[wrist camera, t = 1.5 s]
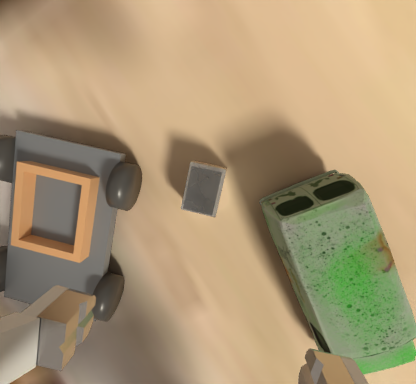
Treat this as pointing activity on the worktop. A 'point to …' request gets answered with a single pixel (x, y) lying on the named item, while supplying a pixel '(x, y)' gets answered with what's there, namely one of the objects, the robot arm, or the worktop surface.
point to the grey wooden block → (203, 188)
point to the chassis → (63, 217)
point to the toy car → (342, 270)
